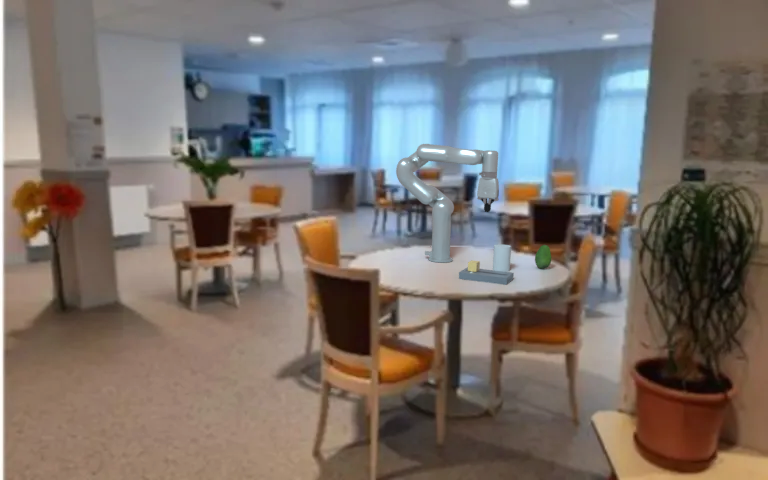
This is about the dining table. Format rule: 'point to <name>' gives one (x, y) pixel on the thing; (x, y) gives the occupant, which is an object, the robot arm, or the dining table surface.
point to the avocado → (543, 257)
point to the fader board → (487, 276)
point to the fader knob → (474, 266)
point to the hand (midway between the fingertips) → (487, 211)
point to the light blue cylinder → (501, 258)
